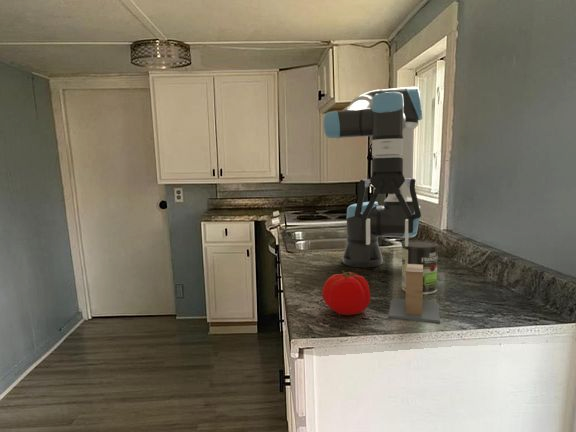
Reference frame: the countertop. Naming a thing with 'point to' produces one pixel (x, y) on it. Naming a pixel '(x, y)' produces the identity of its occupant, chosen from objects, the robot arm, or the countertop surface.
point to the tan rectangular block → (414, 288)
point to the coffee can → (421, 262)
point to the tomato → (346, 293)
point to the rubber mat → (428, 314)
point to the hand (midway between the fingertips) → (387, 244)
